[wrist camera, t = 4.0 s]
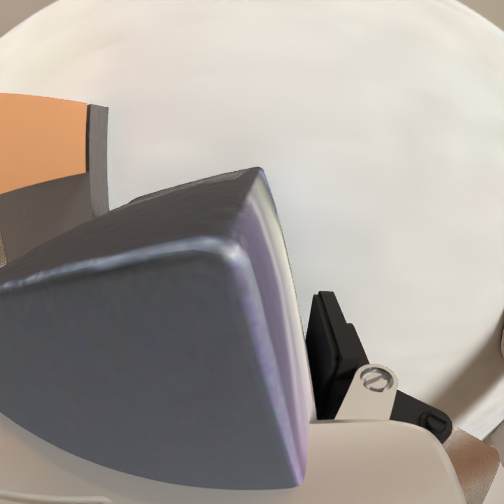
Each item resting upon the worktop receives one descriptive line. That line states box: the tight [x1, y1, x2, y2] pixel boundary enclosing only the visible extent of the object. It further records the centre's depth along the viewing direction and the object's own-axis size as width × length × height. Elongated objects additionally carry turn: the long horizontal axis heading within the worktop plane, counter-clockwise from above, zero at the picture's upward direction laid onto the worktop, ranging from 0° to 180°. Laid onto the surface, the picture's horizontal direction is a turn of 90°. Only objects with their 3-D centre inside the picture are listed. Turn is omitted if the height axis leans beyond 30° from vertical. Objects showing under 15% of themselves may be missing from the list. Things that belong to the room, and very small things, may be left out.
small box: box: [0, 167, 317, 490], centre depth 8 cm, size 11×6×10 cm, turn 13°
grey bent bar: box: [0, 104, 109, 264], centre depth 9 cm, size 8×18×10 cm, turn 178°
